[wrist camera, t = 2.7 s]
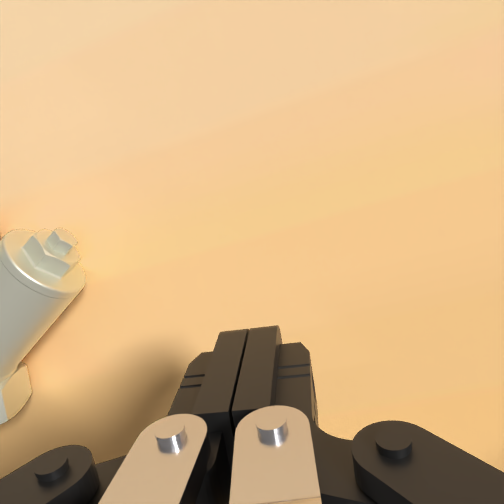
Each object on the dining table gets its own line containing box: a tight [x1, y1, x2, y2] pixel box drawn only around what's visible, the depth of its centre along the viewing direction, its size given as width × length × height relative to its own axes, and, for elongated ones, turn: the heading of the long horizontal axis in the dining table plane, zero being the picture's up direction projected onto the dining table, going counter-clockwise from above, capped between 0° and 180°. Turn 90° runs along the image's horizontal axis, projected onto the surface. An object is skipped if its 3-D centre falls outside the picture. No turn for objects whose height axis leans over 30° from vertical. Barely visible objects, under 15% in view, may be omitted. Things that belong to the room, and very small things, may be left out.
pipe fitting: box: [0, 228, 86, 425], centre depth 18 cm, size 8×4×7 cm
